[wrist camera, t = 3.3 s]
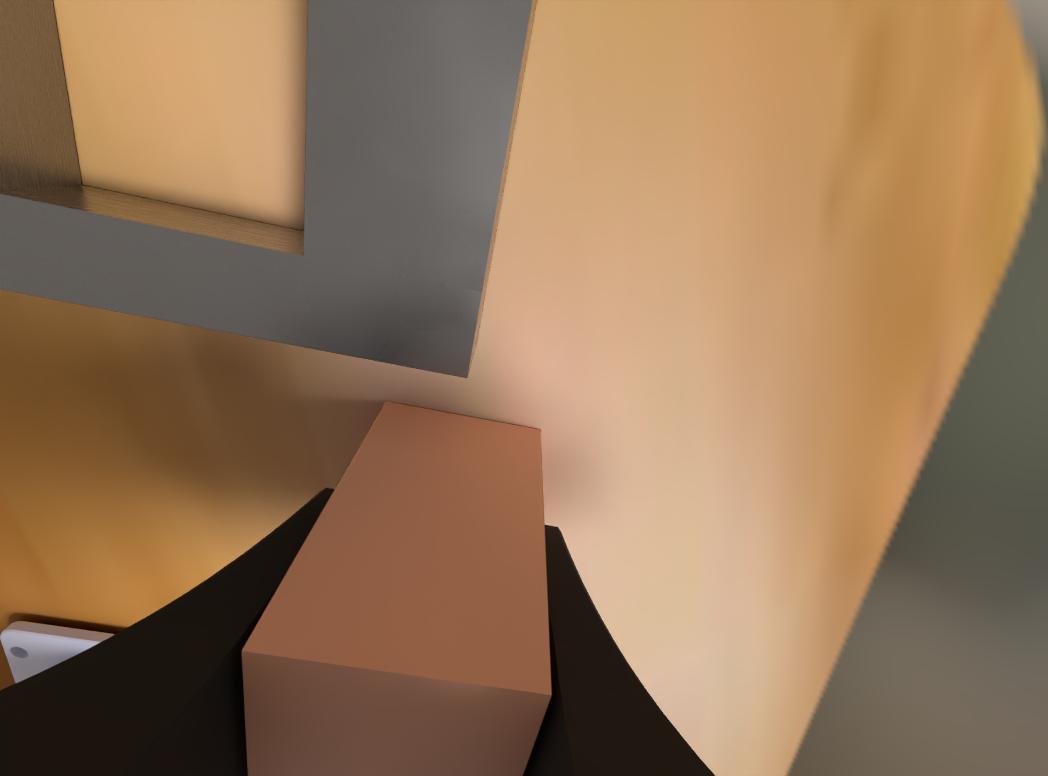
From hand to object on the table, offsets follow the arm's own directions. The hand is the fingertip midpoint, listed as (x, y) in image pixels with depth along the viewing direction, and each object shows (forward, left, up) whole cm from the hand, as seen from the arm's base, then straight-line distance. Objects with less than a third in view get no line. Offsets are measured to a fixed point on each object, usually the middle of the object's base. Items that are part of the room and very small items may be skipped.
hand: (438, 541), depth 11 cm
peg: (0, 0, -2) cm, 2 cm away
